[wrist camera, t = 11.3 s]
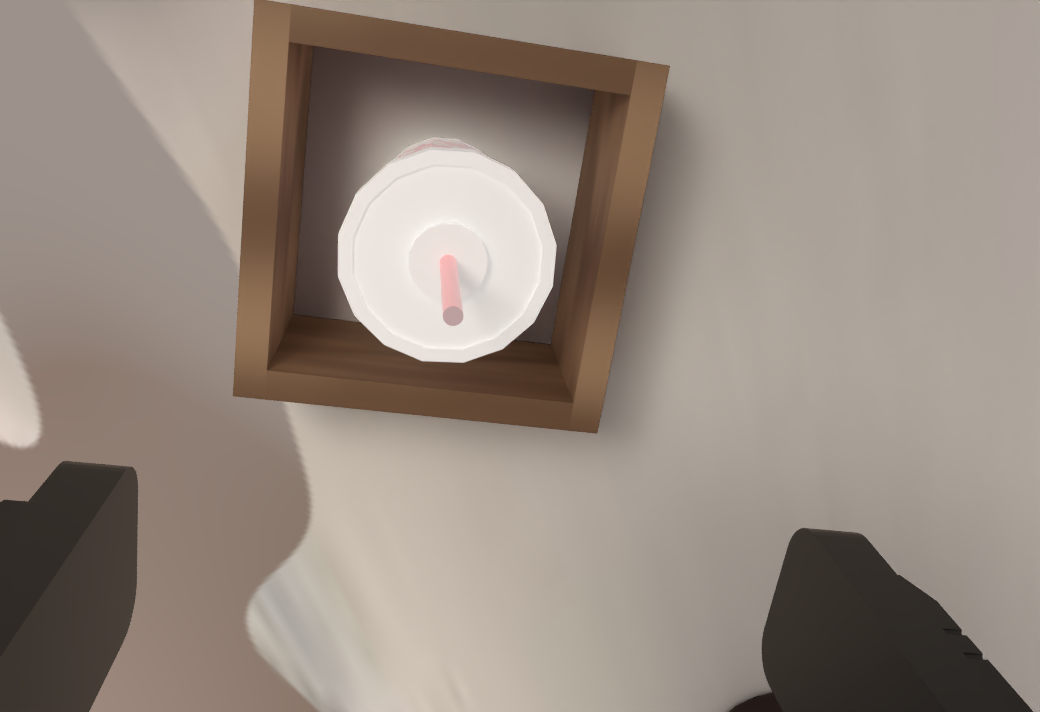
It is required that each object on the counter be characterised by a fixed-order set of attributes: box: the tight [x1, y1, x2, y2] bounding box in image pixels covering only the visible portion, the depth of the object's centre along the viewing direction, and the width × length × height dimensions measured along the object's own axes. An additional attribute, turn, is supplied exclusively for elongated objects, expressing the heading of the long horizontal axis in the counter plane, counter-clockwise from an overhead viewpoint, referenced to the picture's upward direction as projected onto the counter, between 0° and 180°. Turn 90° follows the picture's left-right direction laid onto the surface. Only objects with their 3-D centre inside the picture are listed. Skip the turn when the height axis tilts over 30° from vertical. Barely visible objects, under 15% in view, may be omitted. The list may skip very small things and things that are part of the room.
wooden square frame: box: [233, 0, 670, 433], centre depth 31 cm, size 12×12×6 cm
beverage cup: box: [338, 137, 557, 363], centre depth 27 cm, size 6×6×14 cm
